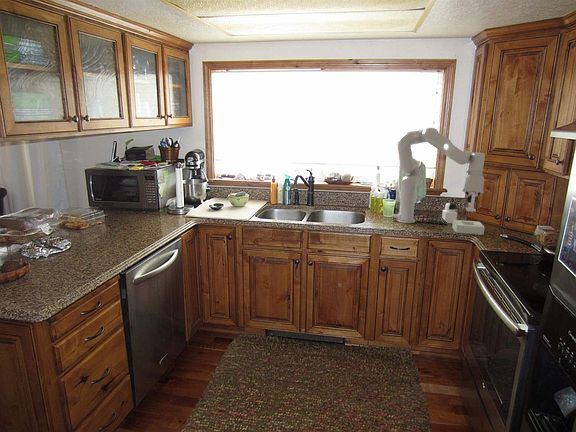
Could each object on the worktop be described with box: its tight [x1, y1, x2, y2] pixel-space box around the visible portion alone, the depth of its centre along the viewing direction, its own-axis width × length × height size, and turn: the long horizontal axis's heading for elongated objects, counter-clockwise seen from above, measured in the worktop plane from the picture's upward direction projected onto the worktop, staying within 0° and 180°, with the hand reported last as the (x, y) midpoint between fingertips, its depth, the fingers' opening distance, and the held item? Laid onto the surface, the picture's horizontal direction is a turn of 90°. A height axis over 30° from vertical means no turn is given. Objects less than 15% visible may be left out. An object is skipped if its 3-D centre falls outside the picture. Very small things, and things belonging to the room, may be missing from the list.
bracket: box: [464, 192, 477, 213], centre depth 248 cm, size 5×6×11 cm
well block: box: [451, 219, 486, 236], centre depth 252 cm, size 16×13×5 cm
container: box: [441, 202, 458, 224], centre depth 272 cm, size 8×8×13 cm
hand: (471, 202), depth 248 cm, fingers closed on bracket
